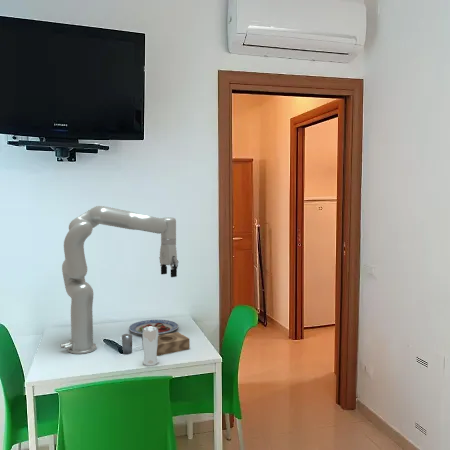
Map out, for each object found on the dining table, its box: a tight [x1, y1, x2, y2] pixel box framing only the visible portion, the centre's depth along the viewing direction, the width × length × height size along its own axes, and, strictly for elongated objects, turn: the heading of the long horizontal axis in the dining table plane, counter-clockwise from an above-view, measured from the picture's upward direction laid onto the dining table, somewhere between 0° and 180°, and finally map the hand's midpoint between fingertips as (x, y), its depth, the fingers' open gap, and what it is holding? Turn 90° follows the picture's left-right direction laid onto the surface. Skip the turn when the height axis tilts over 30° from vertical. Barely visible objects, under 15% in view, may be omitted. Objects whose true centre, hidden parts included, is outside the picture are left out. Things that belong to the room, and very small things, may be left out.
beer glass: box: [141, 326, 159, 367], centre depth 191 cm, size 7×7×15 cm
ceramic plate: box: [128, 319, 179, 335], centre depth 238 cm, size 26×26×3 cm
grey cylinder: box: [121, 333, 133, 356], centre depth 204 cm, size 4×4×8 cm
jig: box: [157, 331, 191, 357], centre depth 209 cm, size 18×12×6 cm, turn 123°
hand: (168, 275), depth 229 cm, fingers open, 9 cm apart
